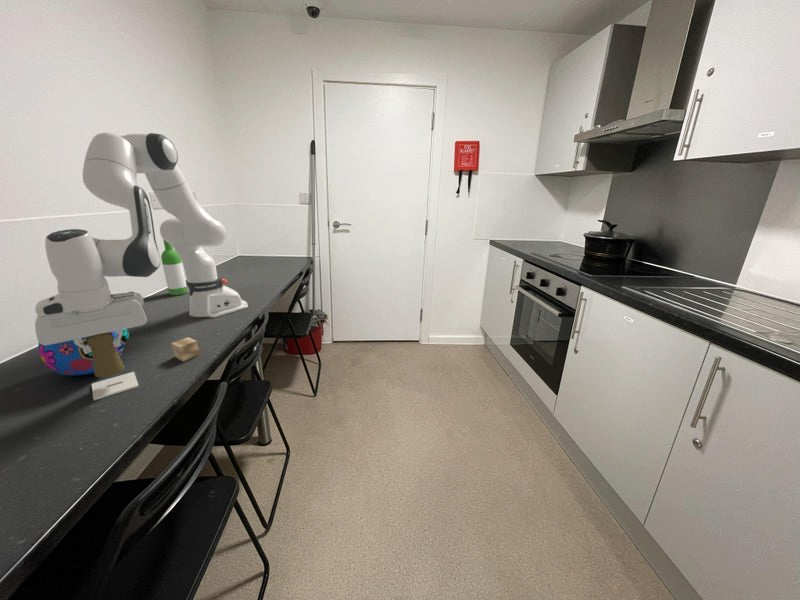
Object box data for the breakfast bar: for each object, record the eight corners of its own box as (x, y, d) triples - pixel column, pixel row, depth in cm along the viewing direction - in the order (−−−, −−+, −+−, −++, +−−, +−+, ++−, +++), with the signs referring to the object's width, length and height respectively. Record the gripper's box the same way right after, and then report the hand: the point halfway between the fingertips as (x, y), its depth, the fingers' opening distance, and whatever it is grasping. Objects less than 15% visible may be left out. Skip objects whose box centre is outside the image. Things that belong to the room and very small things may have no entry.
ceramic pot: (95, 387, 86) (78, 336, 81) (30, 385, 87) (8, 334, 82) (145, 355, 103) (133, 311, 98) (90, 354, 103) (75, 310, 98)
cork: (107, 378, 82) (94, 339, 78) (88, 375, 83) (75, 336, 80) (130, 366, 88) (120, 329, 84) (113, 363, 89) (101, 326, 85)
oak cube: (191, 351, 106) (188, 337, 105) (199, 355, 104) (196, 340, 102) (174, 357, 102) (171, 343, 101) (183, 361, 100) (179, 347, 98)
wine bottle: (168, 297, 156) (154, 234, 146) (170, 292, 163) (156, 232, 153) (187, 294, 160) (174, 233, 150) (188, 290, 166) (176, 231, 156)
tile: (134, 373, 93) (133, 371, 93) (138, 386, 87) (138, 384, 87) (92, 385, 87) (91, 383, 87) (93, 400, 81) (93, 398, 81)
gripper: (139, 287, 88) (150, 333, 92) (27, 304, 75) (47, 357, 79) (142, 292, 84) (154, 341, 88) (24, 311, 70) (46, 367, 75)
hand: (103, 349), depth 83 cm, fingers closed on cork, 4 cm apart
